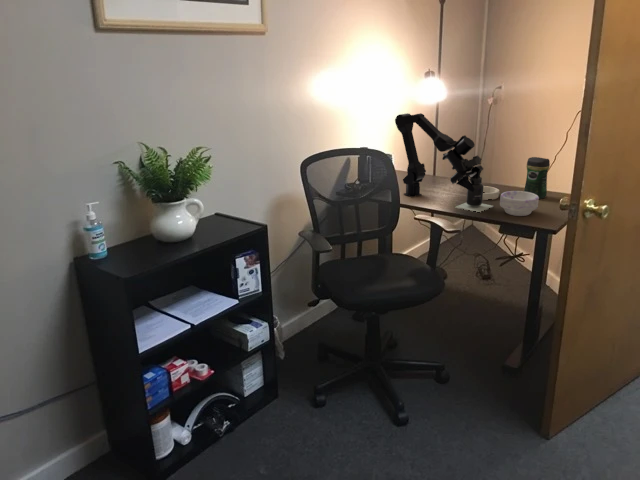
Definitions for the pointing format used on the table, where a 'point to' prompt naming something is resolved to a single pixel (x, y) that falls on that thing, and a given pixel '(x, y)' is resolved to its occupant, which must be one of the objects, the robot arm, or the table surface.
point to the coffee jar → (537, 176)
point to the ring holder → (490, 193)
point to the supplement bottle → (475, 192)
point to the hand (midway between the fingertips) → (477, 189)
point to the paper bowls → (519, 202)
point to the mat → (474, 207)
